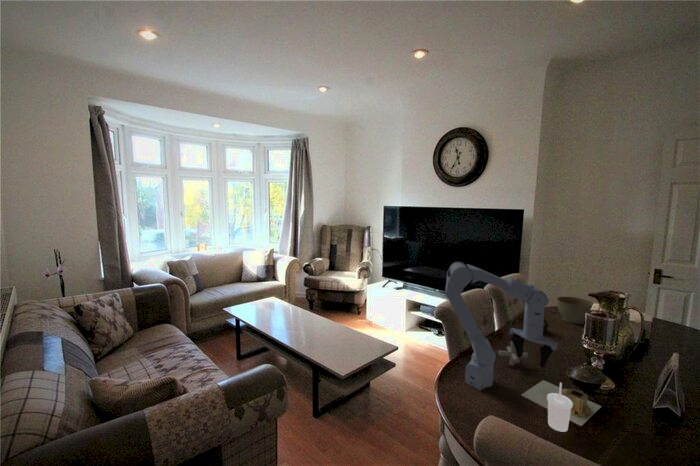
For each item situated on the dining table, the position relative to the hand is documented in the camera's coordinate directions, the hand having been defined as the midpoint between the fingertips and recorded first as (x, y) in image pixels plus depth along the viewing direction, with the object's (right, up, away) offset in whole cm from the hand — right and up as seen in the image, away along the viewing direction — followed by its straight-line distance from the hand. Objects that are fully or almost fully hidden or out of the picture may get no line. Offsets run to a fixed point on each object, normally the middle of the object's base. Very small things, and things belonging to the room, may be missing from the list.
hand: (531, 361), depth 106 cm
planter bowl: (+57, -3, +59) cm, 82 cm away
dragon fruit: (+30, -5, +48) cm, 56 cm away
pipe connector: (+1, -8, +15) cm, 17 cm away
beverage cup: (-3, -12, -18) cm, 22 cm away
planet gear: (+7, -10, -11) cm, 17 cm away
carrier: (+5, -11, -7) cm, 14 cm away
